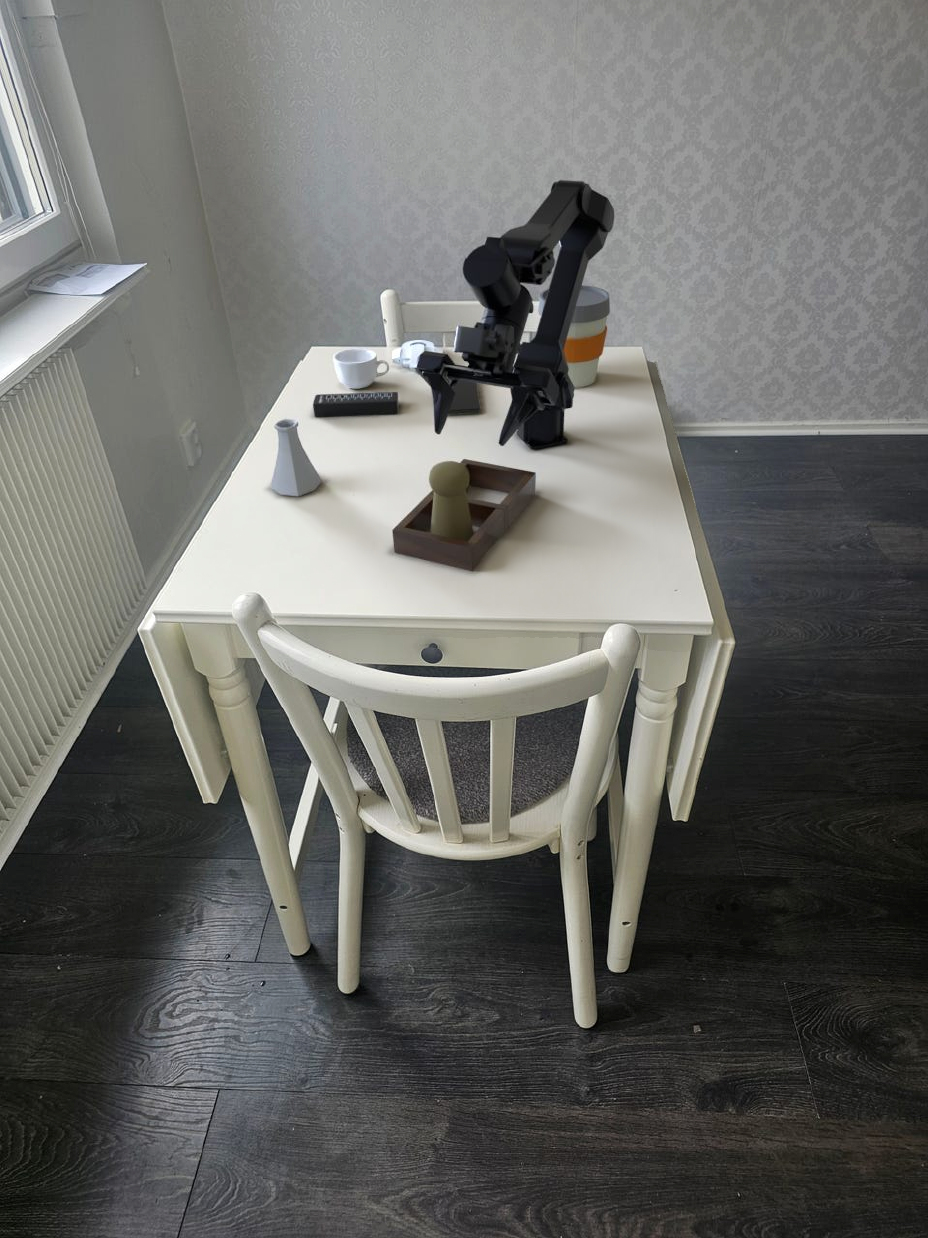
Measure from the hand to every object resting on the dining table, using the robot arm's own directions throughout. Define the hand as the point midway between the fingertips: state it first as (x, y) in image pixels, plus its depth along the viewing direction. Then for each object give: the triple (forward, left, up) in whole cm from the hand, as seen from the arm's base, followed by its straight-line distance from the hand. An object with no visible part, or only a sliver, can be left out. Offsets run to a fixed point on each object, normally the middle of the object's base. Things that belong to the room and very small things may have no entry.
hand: (468, 438), depth 111 cm
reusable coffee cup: (-34, -40, -12) cm, 54 cm away
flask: (+21, -19, -12) cm, 31 cm away
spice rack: (+1, +1, -12) cm, 12 cm away
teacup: (+2, -53, -12) cm, 54 cm away
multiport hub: (+6, -42, -12) cm, 44 cm away
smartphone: (-12, -40, -12) cm, 44 cm away
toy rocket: (-11, -61, -12) cm, 63 cm away
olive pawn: (+4, +4, -12) cm, 14 cm away
